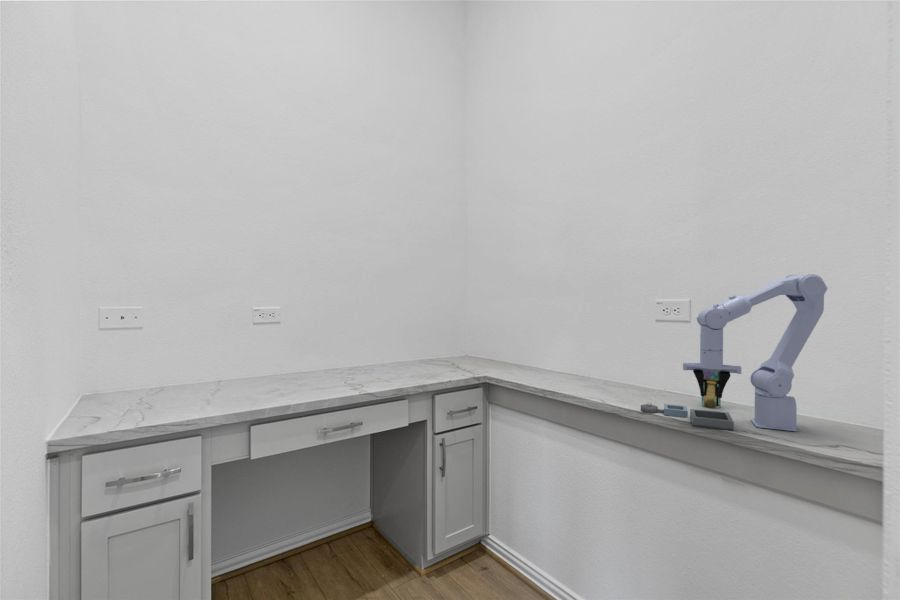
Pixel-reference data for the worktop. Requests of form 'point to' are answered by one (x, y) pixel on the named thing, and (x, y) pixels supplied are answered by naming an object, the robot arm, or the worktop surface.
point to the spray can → (715, 376)
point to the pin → (710, 393)
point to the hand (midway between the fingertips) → (710, 396)
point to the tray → (711, 419)
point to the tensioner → (666, 409)
